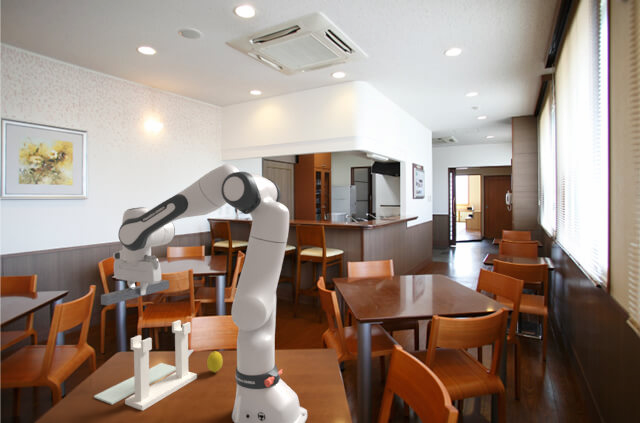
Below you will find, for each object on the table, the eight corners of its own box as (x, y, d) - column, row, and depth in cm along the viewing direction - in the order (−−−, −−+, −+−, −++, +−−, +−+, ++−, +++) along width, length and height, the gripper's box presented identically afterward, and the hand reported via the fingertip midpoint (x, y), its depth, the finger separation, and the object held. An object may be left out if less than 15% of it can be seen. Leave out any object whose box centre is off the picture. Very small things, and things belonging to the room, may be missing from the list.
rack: (196, 378, 128) (196, 321, 127) (142, 410, 108) (141, 343, 107) (180, 373, 131) (179, 318, 131) (125, 404, 112) (123, 339, 111)
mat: (178, 369, 135) (178, 367, 135) (111, 404, 111) (111, 402, 111) (161, 364, 139) (161, 362, 139) (94, 397, 115) (94, 395, 115)
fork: (194, 355, 153) (194, 348, 153) (183, 373, 132) (183, 365, 132) (187, 356, 152) (187, 349, 152) (175, 374, 132) (175, 366, 132)
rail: (169, 288, 134) (169, 280, 134) (106, 305, 113) (106, 296, 112) (163, 287, 135) (163, 279, 135) (101, 304, 114) (100, 295, 114)
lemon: (218, 376, 129) (218, 355, 128) (204, 375, 130) (204, 353, 129) (225, 369, 134) (225, 348, 134) (211, 368, 135) (211, 347, 135)
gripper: (165, 254, 122) (166, 295, 122) (126, 251, 131) (127, 288, 131) (149, 257, 116) (150, 299, 117) (109, 253, 125) (110, 292, 126)
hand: (137, 293), depth 124 cm, fingers closed on rail, 3 cm apart
